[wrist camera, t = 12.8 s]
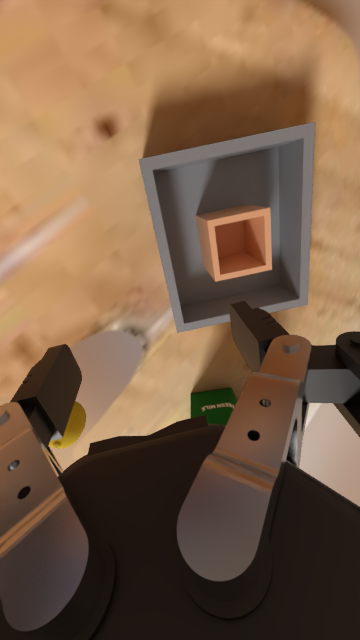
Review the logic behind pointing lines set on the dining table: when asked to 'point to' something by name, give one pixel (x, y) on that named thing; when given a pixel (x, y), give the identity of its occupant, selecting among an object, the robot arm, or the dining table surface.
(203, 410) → the milk carton
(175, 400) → the dining table surface
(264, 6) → the dining table surface
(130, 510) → the robot arm
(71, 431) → the lemon
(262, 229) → the box
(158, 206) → the big crate
